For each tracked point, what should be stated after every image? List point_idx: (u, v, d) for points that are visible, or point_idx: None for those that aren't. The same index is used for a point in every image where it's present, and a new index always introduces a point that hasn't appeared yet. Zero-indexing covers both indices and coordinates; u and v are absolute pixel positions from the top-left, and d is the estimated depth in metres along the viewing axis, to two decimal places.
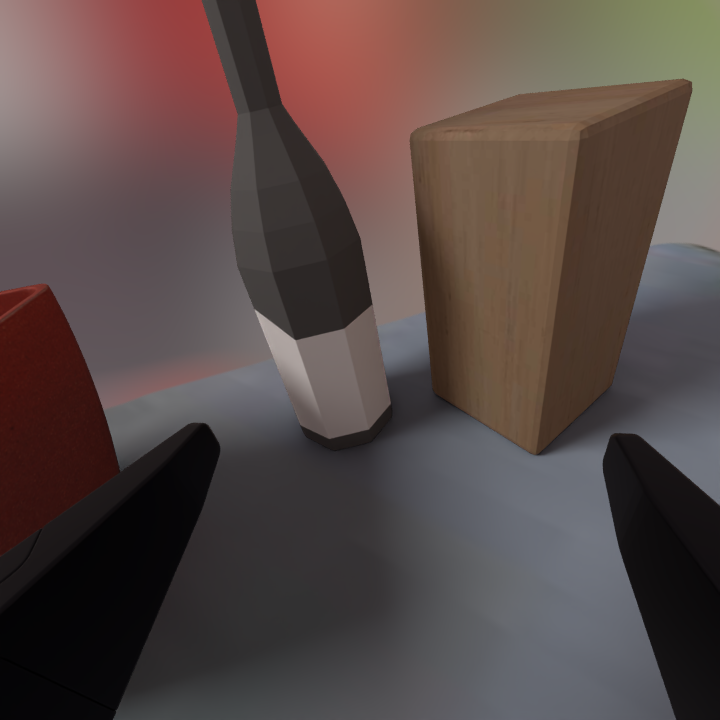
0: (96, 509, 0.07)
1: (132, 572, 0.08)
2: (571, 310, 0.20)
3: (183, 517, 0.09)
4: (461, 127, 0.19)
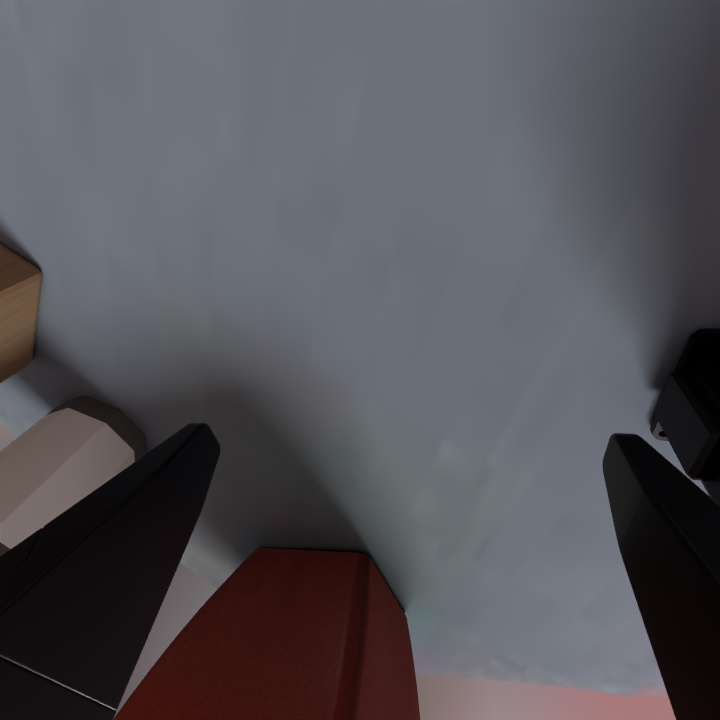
0: (96, 509, 0.07)
1: (132, 572, 0.08)
2: None
3: (183, 517, 0.09)
4: None
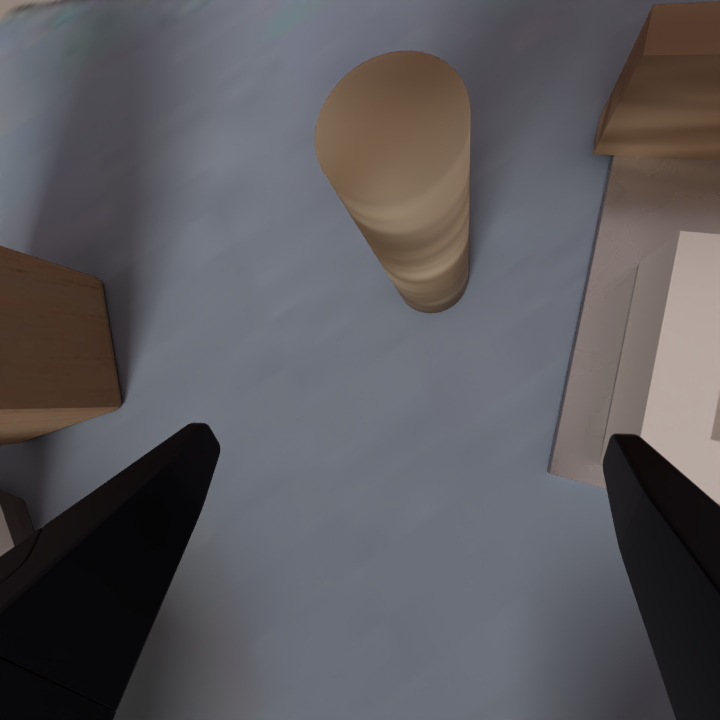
0: (96, 509, 0.07)
1: (132, 572, 0.08)
2: None
3: (183, 517, 0.09)
4: None
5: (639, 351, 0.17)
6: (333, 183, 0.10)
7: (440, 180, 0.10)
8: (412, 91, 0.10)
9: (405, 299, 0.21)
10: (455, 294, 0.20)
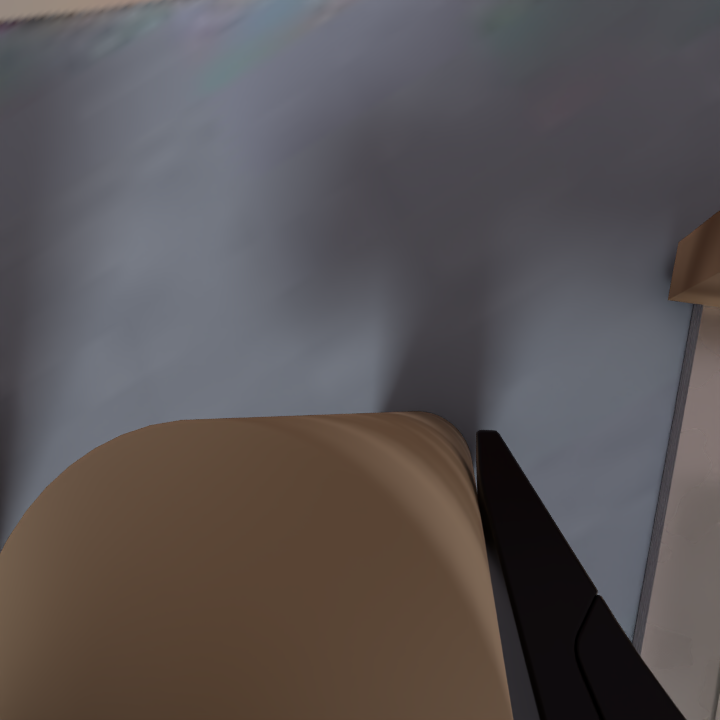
0: None
1: None
2: None
3: None
4: None
5: None
6: None
7: None
8: (279, 621, 0.02)
9: None
10: None
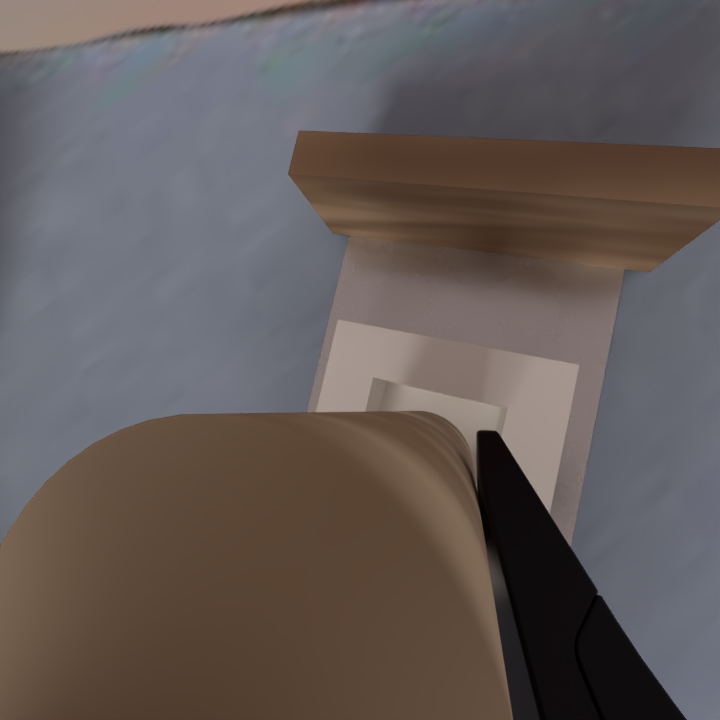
0: None
1: None
2: None
3: None
4: None
5: None
6: None
7: None
8: (277, 615, 0.02)
9: None
10: None
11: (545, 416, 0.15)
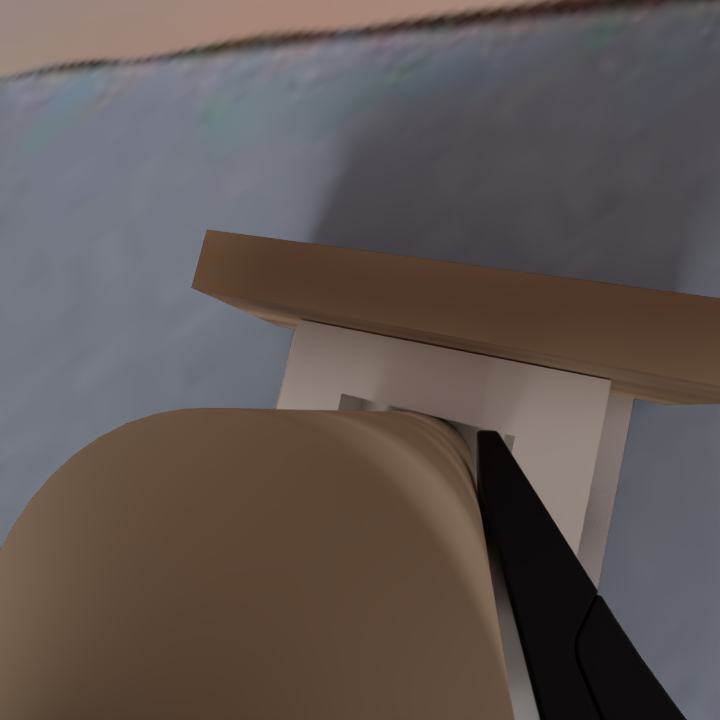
0: None
1: None
2: None
3: None
4: None
5: None
6: None
7: None
8: (280, 606, 0.02)
9: None
10: None
11: (565, 449, 0.11)
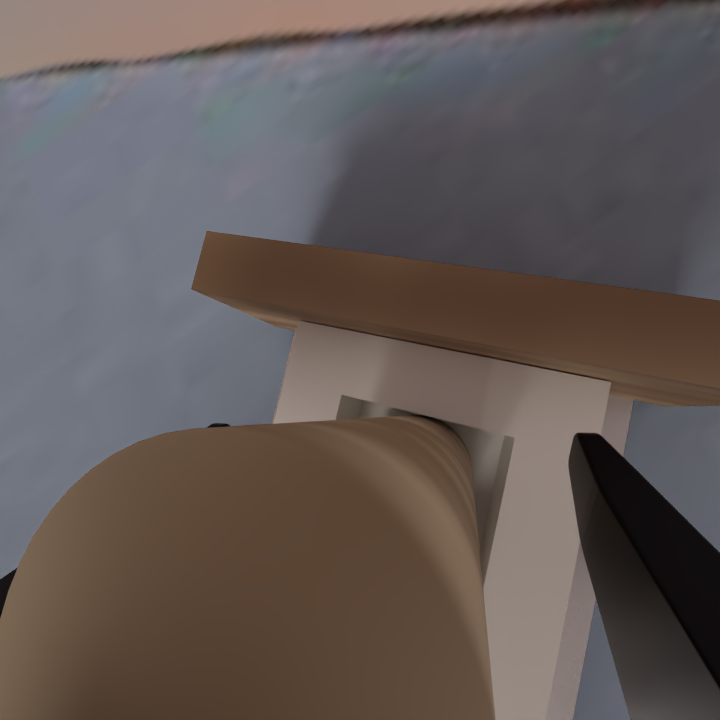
0: None
1: None
2: None
3: None
4: None
5: None
6: None
7: None
8: (281, 611, 0.03)
9: None
10: None
11: (565, 450, 0.11)
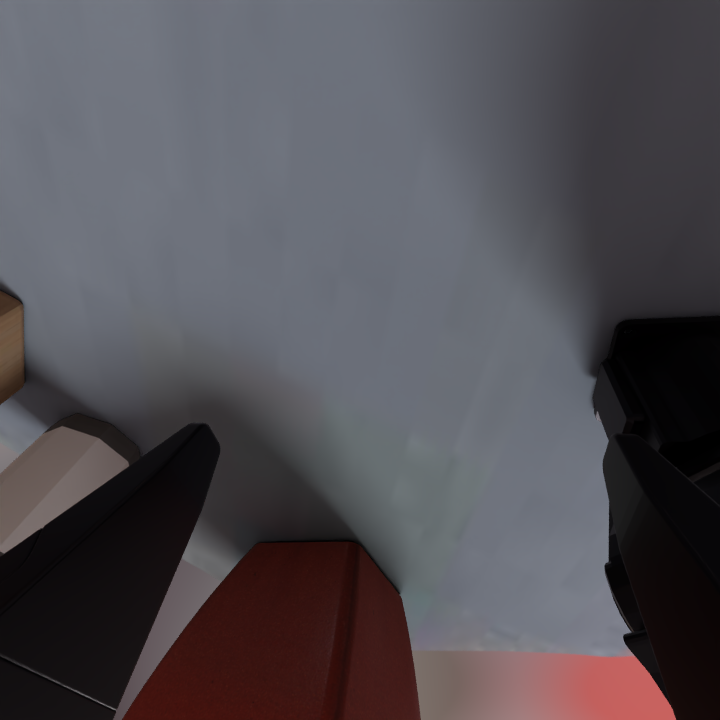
0: (96, 509, 0.07)
1: (132, 572, 0.08)
2: None
3: (183, 517, 0.09)
4: None
5: None
6: None
7: None
8: None
9: None
10: None
11: None
